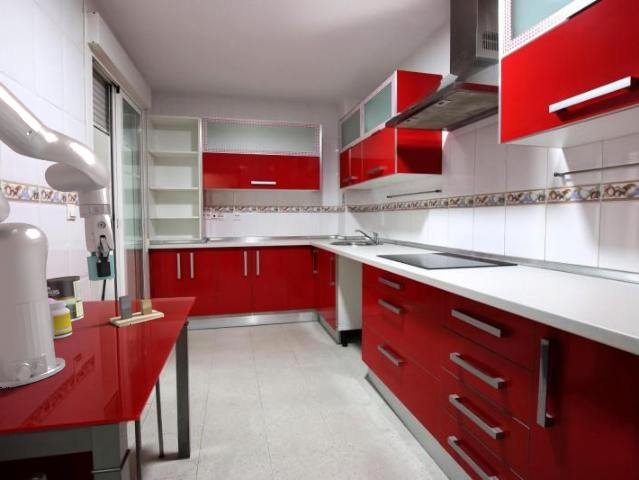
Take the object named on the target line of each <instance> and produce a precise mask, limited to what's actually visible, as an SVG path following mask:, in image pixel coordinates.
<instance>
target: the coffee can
mask: <svg viewBox="0 0 639 480" xmlns="http://www.w3.org/2000/svg"><path fill="white" fill-rule="evenodd" d="M80 279H81V276H79V275H70V276H69V275H68V276H60V277H58V276H57V277H52V278H46V281H47V291H48V298H52V299H54V300H56V301H66V306H65V308H68V309H69V310H70V318H71V323H72V322H76V321H79V320H81V319H83V318H84V317H85V316H84V309H83V307H84V306H83V296H82V288H81V287H82V286H81V280H80Z"/></svg>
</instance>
